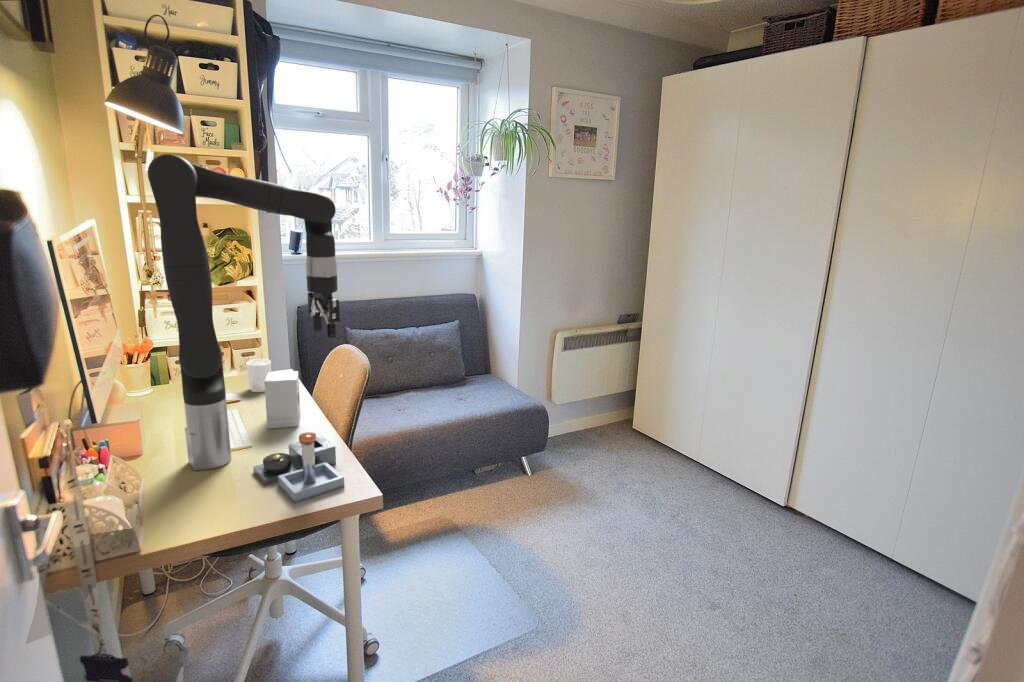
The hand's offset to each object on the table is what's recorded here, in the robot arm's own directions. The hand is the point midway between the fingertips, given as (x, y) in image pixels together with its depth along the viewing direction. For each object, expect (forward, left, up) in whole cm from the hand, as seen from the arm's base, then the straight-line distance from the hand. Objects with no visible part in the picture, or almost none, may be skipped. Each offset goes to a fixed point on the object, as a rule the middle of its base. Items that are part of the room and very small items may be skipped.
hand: (324, 333), depth 146 cm
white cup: (0, +55, -32) cm, 64 cm away
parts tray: (-13, -19, -32) cm, 40 cm away
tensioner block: (-12, -8, -32) cm, 35 cm away
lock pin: (-13, -18, -32) cm, 38 cm away
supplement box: (-4, +22, -32) cm, 39 cm away
